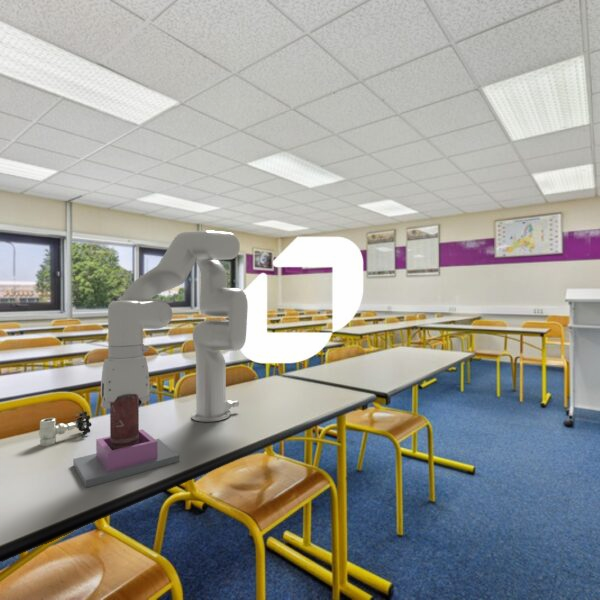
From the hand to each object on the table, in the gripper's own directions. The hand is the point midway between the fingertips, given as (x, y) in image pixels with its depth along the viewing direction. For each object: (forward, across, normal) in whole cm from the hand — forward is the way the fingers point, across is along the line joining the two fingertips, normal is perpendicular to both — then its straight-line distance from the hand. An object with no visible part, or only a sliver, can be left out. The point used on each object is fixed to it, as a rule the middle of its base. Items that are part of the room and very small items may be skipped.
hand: (126, 429), depth 92 cm
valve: (+8, +9, -28) cm, 30 cm away
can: (+6, 0, 0) cm, 6 cm away
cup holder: (+8, 0, 0) cm, 8 cm away
